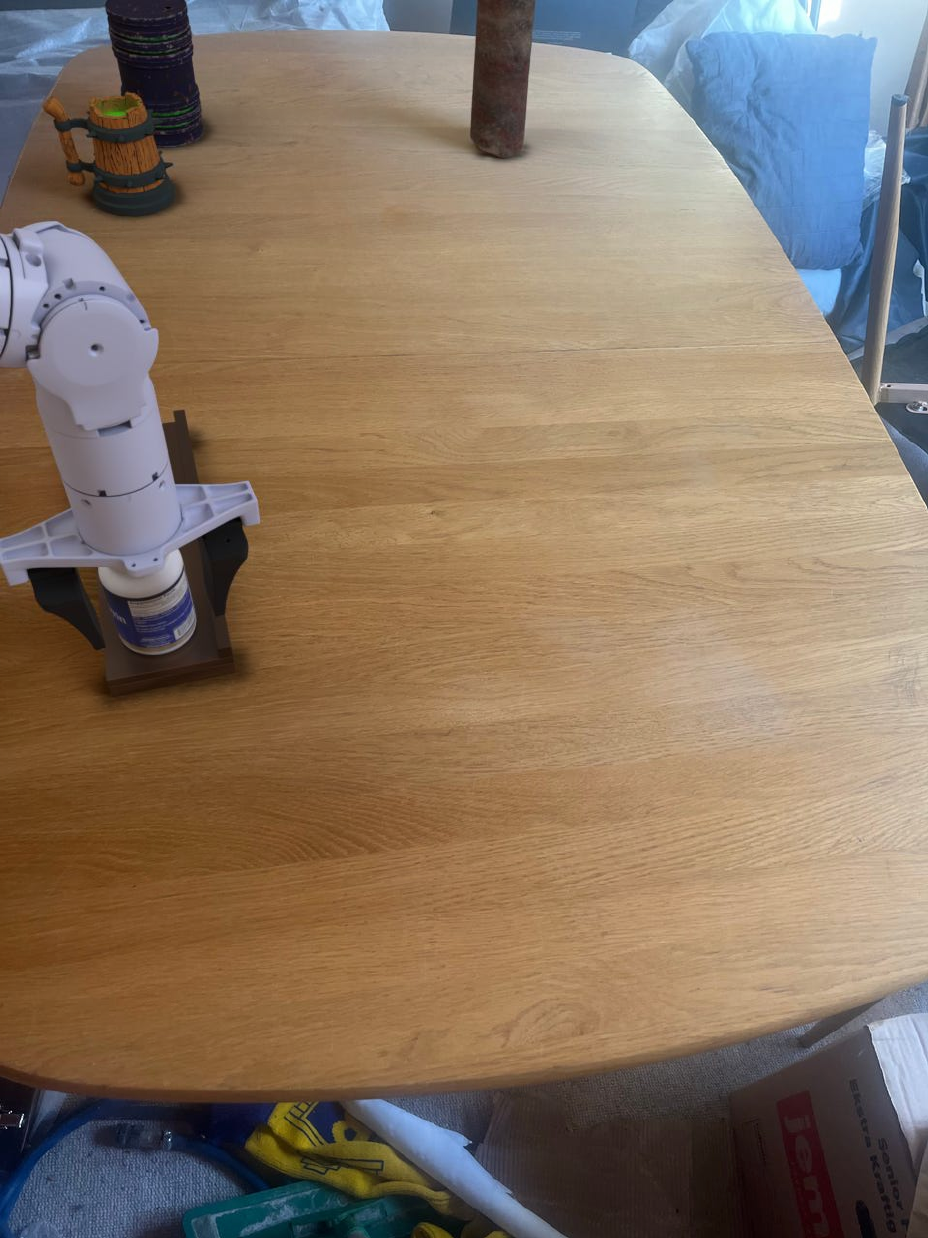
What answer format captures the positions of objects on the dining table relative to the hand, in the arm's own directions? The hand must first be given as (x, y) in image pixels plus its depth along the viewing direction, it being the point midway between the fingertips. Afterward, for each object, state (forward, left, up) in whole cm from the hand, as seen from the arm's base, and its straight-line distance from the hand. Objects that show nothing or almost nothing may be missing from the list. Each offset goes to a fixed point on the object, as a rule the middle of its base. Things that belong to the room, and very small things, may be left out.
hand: (158, 621), depth 62 cm
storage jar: (+20, +92, -10) cm, 94 cm away
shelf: (+2, +16, -10) cm, 19 cm away
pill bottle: (0, +6, -8) cm, 10 cm away
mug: (+11, +76, -10) cm, 77 cm away
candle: (+61, +76, -10) cm, 98 cm away
